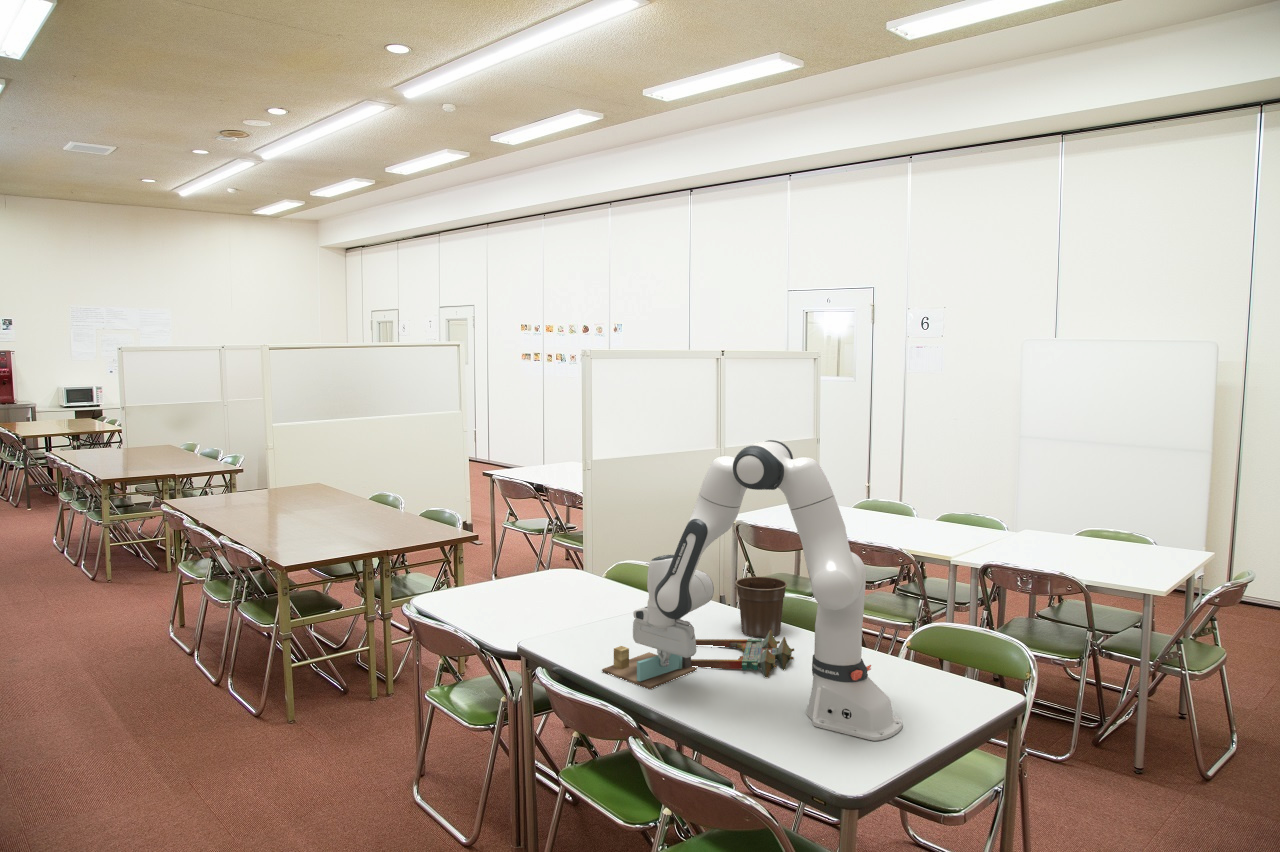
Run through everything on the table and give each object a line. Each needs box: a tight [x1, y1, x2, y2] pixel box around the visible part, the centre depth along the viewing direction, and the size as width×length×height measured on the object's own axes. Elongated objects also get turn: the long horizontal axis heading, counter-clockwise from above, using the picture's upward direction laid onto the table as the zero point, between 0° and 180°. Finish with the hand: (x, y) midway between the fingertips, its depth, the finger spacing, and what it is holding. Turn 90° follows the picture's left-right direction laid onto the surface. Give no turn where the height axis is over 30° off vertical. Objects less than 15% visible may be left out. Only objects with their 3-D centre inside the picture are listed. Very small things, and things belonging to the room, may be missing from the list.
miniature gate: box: [691, 630, 795, 678], centre depth 240 cm, size 27×6×30 cm
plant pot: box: [735, 576, 788, 639], centre depth 264 cm, size 16×16×16 cm
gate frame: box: [601, 645, 698, 690], centre depth 230 cm, size 18×19×9 cm
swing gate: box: [637, 653, 682, 681], centre depth 225 cm, size 2×16×5 cm, turn 132°
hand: (664, 665), depth 224 cm, fingers closed, pressing on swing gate
